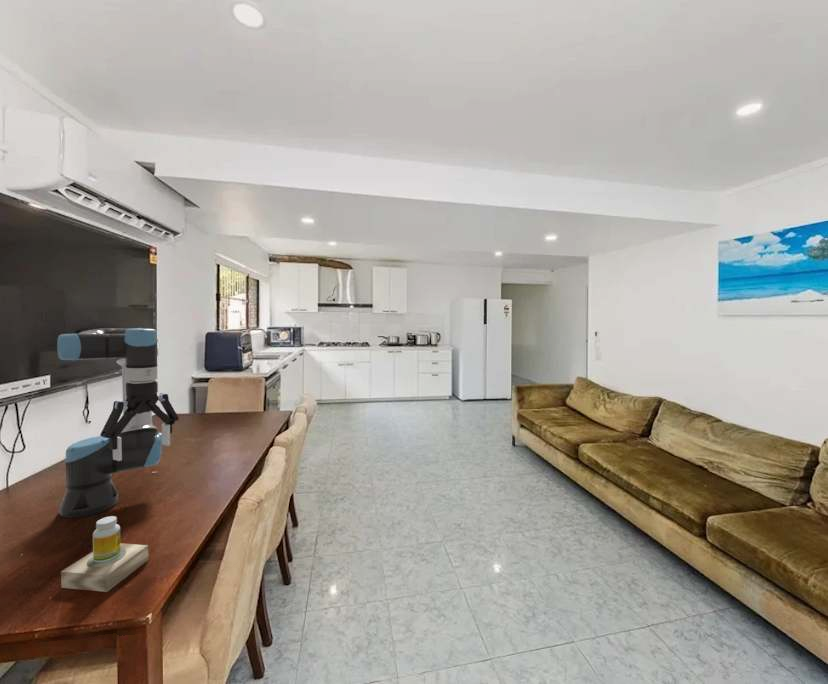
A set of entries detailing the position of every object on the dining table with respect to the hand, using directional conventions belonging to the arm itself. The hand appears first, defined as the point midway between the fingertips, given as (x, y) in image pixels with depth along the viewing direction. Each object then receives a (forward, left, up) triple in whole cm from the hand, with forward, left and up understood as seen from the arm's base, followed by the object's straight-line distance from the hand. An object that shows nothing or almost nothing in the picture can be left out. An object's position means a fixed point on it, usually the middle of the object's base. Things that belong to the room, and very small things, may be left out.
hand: (143, 452), depth 109 cm
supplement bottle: (+8, -15, -21) cm, 27 cm away
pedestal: (+9, -15, -25) cm, 31 cm away
